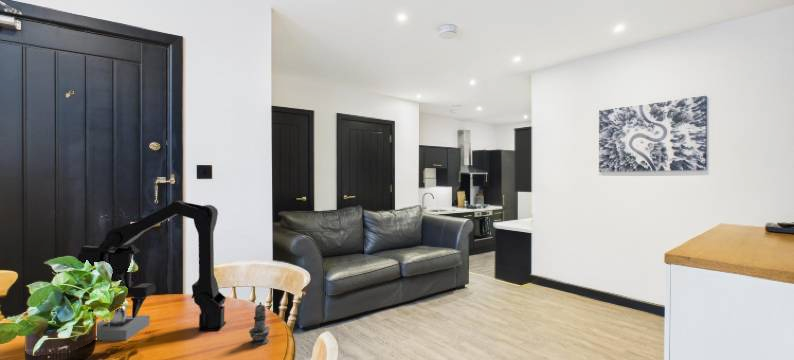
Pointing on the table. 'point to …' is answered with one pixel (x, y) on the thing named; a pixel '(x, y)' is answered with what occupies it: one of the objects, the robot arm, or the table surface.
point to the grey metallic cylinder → (119, 317)
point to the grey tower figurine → (259, 327)
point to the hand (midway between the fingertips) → (118, 317)
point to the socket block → (121, 329)
